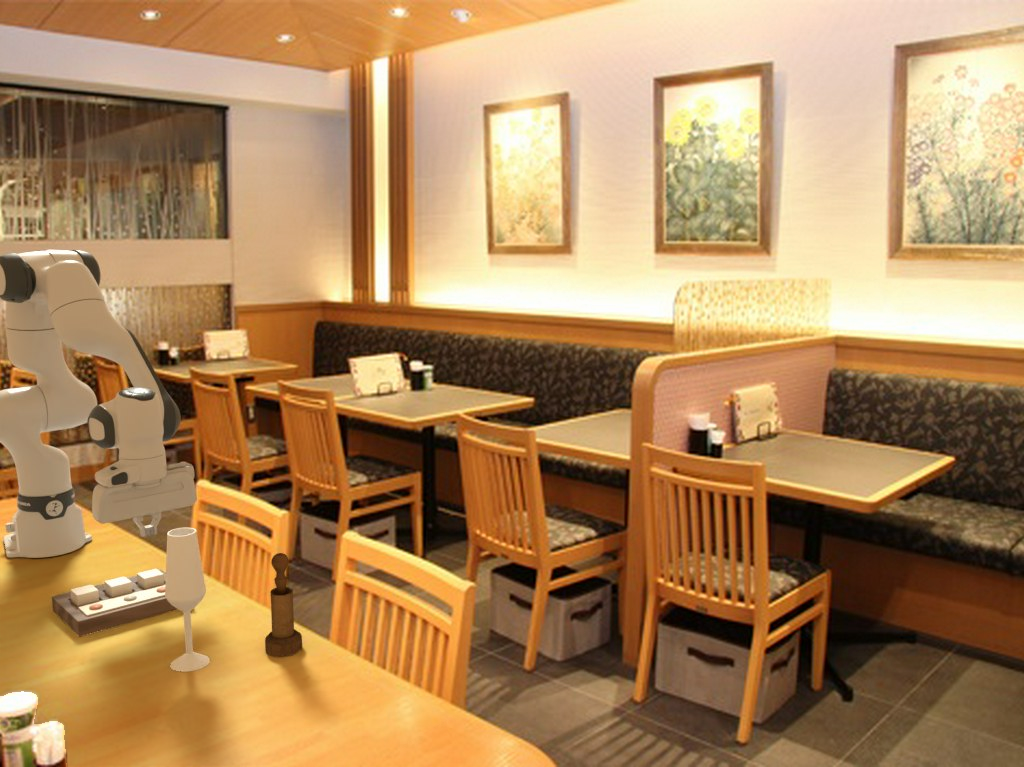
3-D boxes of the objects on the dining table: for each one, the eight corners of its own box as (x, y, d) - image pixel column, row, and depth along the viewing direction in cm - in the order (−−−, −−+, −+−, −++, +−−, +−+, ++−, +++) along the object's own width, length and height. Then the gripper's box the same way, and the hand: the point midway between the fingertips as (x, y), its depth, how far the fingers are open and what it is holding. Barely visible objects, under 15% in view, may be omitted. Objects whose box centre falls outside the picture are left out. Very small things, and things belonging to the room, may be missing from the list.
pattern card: (78, 608, 184) (78, 606, 184) (170, 584, 196) (169, 582, 196) (87, 616, 181) (86, 614, 181) (180, 591, 192) (179, 589, 192)
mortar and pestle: (297, 657, 170) (293, 560, 167) (261, 657, 171) (256, 560, 168) (305, 641, 177) (302, 547, 174) (271, 640, 177) (266, 547, 174)
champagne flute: (196, 650, 173) (188, 523, 169) (217, 661, 169) (210, 531, 165) (162, 664, 168) (153, 532, 164) (183, 675, 164) (175, 541, 160)
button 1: (71, 603, 189) (70, 589, 188) (92, 598, 192) (91, 584, 191) (78, 610, 186) (77, 595, 186) (99, 604, 189) (98, 590, 188)
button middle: (105, 595, 193) (104, 581, 193) (125, 590, 196) (124, 576, 195) (112, 601, 190) (111, 586, 190) (132, 595, 193) (131, 581, 192)
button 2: (137, 587, 198) (136, 573, 197) (157, 582, 200) (156, 568, 200) (145, 592, 195) (144, 578, 194) (164, 587, 197) (163, 573, 197)
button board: (52, 610, 191) (51, 596, 190) (161, 582, 205) (160, 569, 205) (79, 636, 179) (78, 621, 178) (193, 605, 193) (192, 591, 193)
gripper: (186, 457, 202) (191, 520, 204) (86, 474, 189) (92, 542, 191) (199, 462, 197) (204, 527, 200) (97, 480, 184) (103, 549, 186)
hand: (148, 534), depth 195 cm, fingers closed
